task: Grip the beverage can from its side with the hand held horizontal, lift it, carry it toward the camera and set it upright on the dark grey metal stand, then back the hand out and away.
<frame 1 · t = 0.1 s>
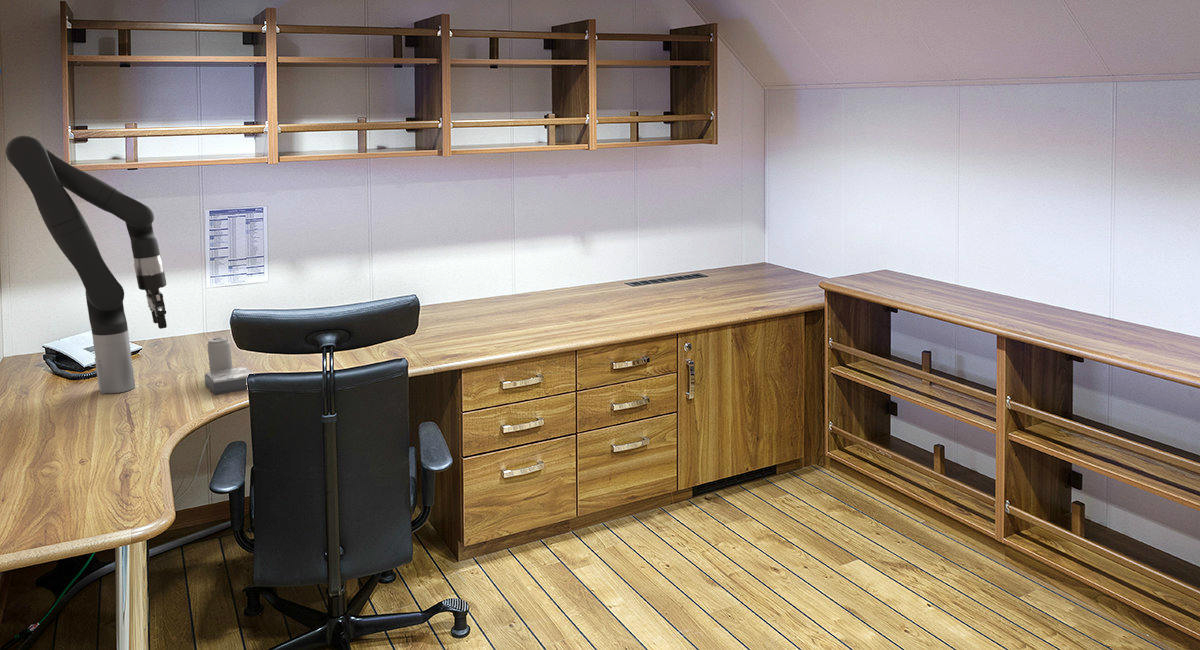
hand: (160, 325, 280), 17 cm above the table, tool pointing down, fingers open, 8 cm apart
beverage can: (222, 378, 287), on the table
stand: (231, 386, 278), on the table
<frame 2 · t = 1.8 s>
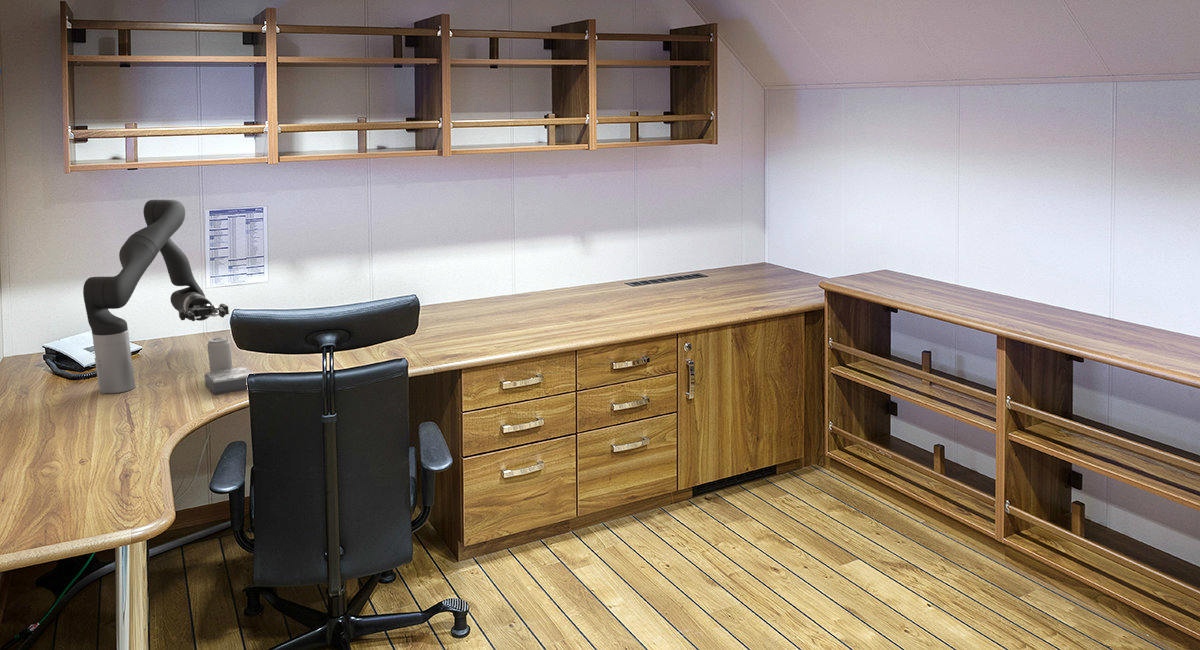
hand: (208, 316, 293), 17 cm above the table, tool horizontal, fingers open, 8 cm apart
nothing on the table moved.
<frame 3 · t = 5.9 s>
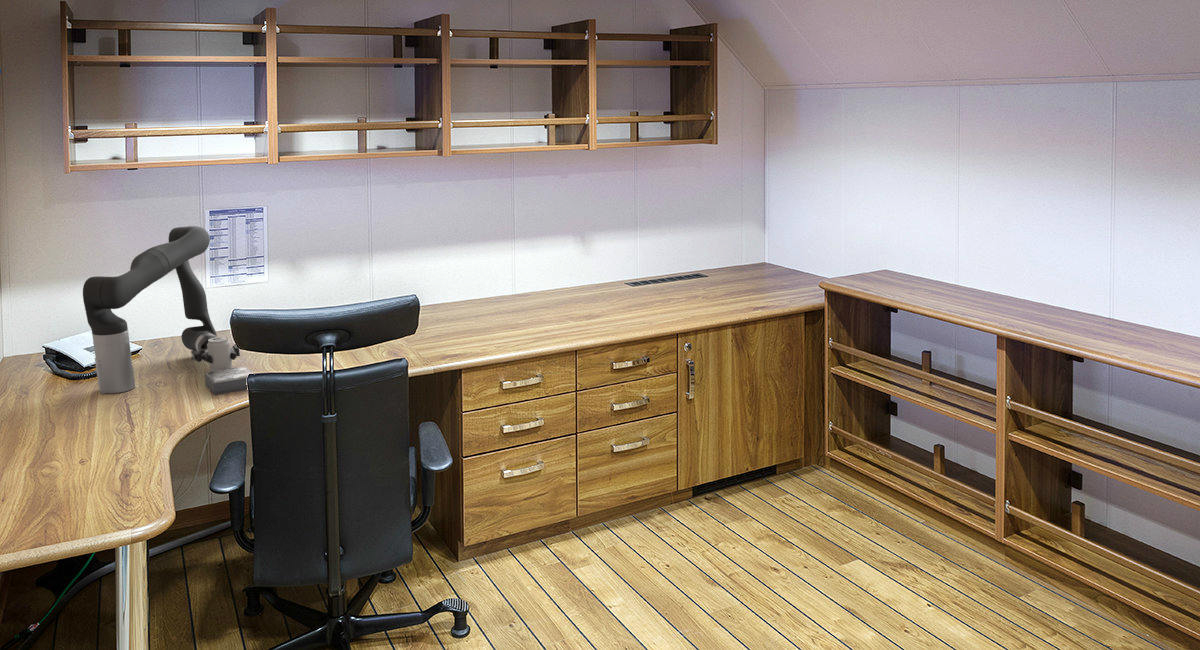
hand: (222, 358, 284), 7 cm above the table, tool horizontal, fingers closed on beverage can, 6 cm apart
beverage can: (222, 378, 287), on the table, touching gripper
when the fingers open (12 cm above the table, at t = 10.6 s): beverage can drops 1 cm, resting on stand.
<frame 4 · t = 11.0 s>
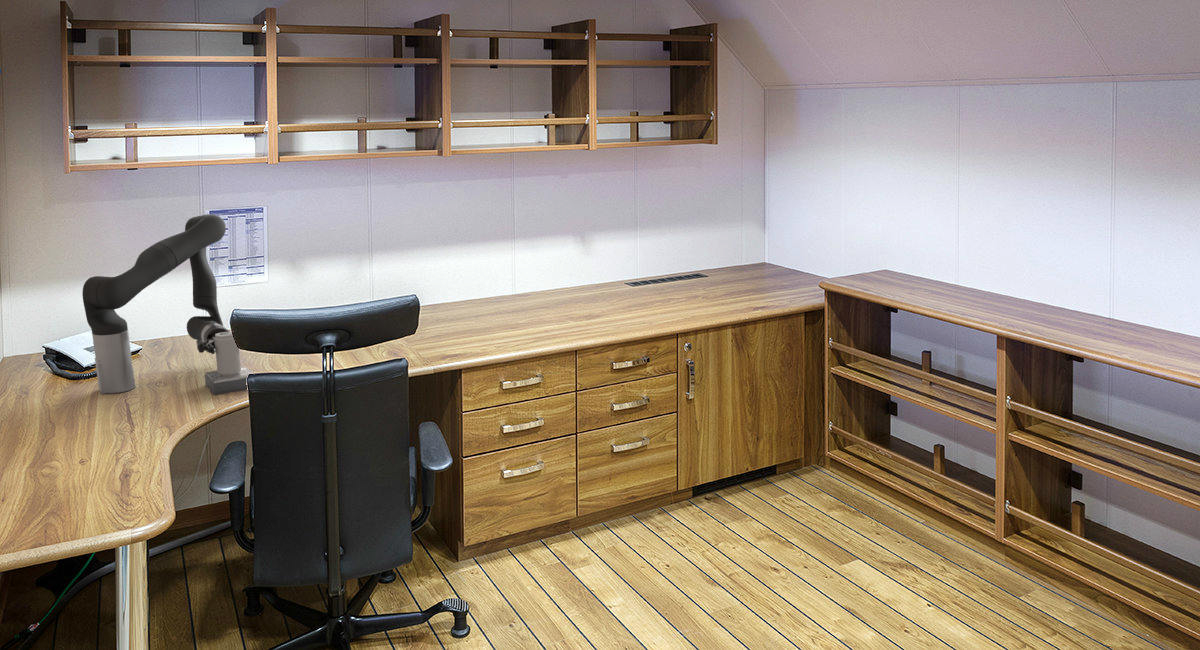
hand: (228, 348, 273), 12 cm above the table, tool horizontal, fingers open, 8 cm apart
beverage can: (229, 374, 277), point 4 cm above the table, touching stand
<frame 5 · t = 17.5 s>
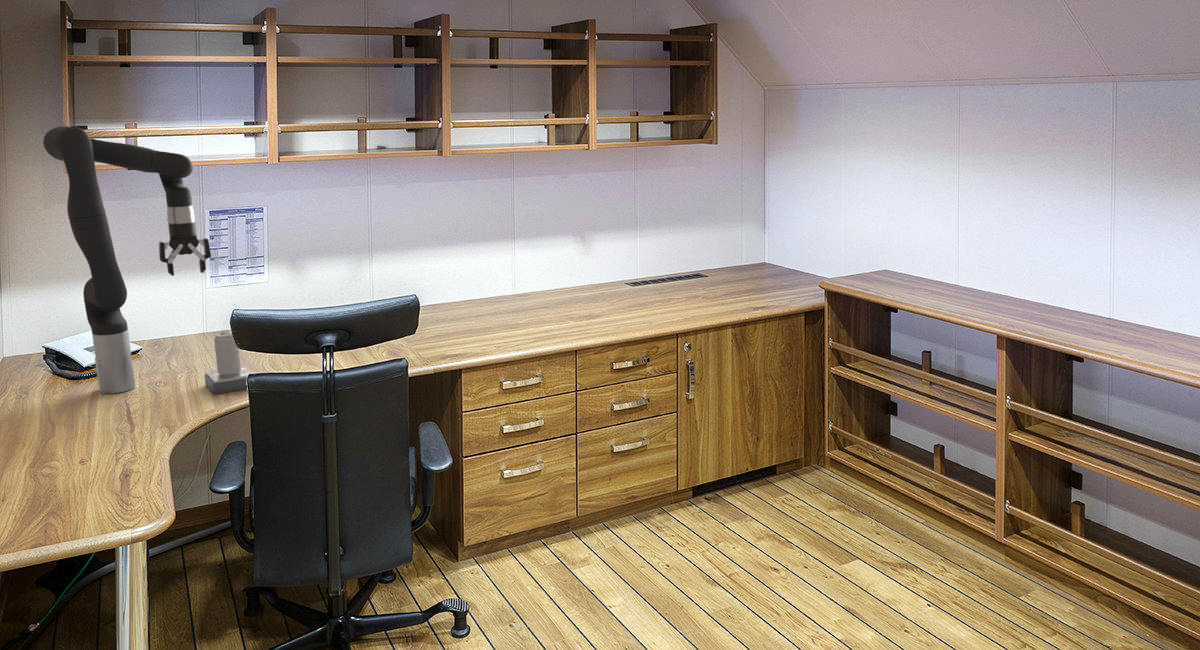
hand: (187, 273, 291), 30 cm above the table, tool pointing down, fingers open, 8 cm apart
nothing on the table moved.
at the end: beverage can inside the target area on the stand (0.1 cm from its centre), point 3.8 cm above the stand's base; beverage can tilted 0°; the gripper is holding nothing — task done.
